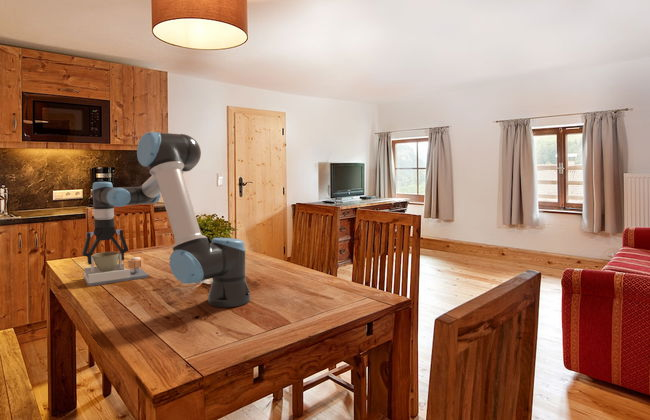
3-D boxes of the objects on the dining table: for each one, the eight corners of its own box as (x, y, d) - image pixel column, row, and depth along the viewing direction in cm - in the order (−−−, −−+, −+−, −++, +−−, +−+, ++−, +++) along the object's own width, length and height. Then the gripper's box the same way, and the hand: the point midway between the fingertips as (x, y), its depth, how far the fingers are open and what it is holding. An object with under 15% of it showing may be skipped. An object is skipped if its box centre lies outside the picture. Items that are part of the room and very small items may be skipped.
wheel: (145, 266, 181) (144, 258, 180) (130, 268, 177) (129, 260, 177) (141, 264, 186) (141, 255, 185) (127, 265, 182) (126, 257, 182)
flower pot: (124, 267, 179) (123, 251, 178) (112, 273, 169) (111, 256, 169) (101, 267, 179) (101, 251, 179) (88, 273, 170) (87, 256, 169)
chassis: (148, 277, 178) (147, 267, 178) (88, 286, 164) (87, 275, 164) (140, 270, 189) (140, 260, 189) (83, 278, 176) (83, 267, 175)
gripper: (131, 215, 182) (133, 264, 184) (72, 219, 168) (75, 271, 171) (134, 217, 176) (137, 267, 178) (74, 221, 162) (77, 275, 165)
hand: (106, 269), depth 174 cm, fingers closed on flower pot, 10 cm apart
